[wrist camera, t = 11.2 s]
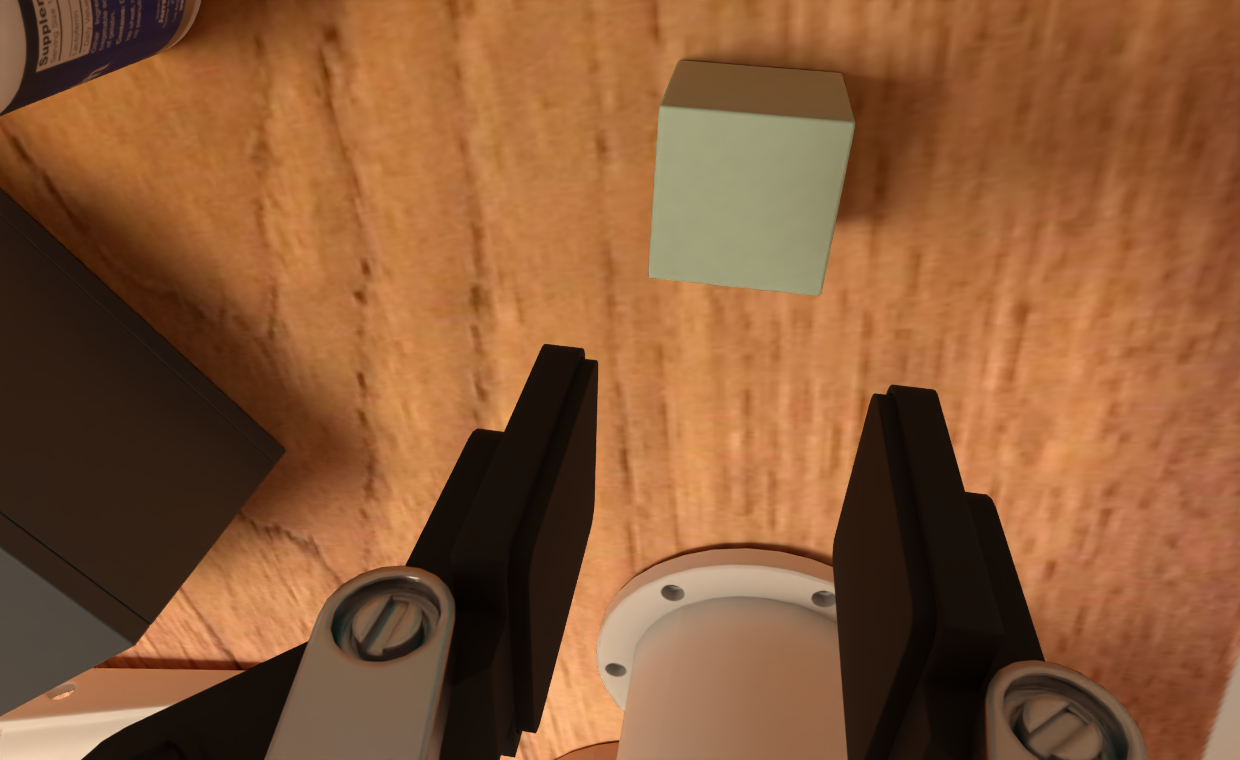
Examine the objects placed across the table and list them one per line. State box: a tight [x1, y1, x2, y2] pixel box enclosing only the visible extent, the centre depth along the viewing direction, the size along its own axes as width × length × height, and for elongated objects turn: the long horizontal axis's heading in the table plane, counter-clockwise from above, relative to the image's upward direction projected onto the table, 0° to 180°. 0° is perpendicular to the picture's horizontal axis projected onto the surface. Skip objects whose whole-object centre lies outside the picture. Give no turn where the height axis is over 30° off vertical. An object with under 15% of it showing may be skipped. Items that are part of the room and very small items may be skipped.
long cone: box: [0, 668, 245, 760], centre depth 40 cm, size 6×6×19 cm
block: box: [648, 60, 855, 296], centre depth 20 cm, size 4×4×4 cm
